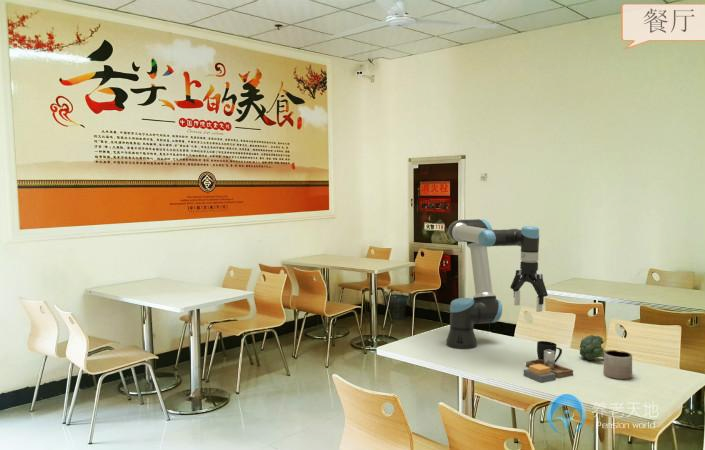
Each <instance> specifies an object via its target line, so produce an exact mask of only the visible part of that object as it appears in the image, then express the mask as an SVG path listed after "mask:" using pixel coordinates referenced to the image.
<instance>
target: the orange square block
mask: <svg viewBox="0 0 705 450" xmlns="http://www.w3.org/2000/svg"><path fill="white" fill-rule="evenodd" d="M528 369H529V371H530V372H533V373H535V374H538V375H543V374H548V373H550V367H547V366H544V365H541V364H536V365H530V366H529V367H528Z"/></svg>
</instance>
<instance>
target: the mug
mask: <svg viewBox="0 0 705 450" xmlns="http://www.w3.org/2000/svg"><path fill="white" fill-rule="evenodd" d="M557 346H558V345H557V343H555V342H552V341H547V340H539V341H537V344H536V352H537V353H536V354H537V359H542V360H544V350H547V349H550V350H553V351H555V355H556V354H557V350H558V354H557V356H556V357H555V363H554V364H557V362H558V360H559V359H560V358H561V356H562V353H563V349H562V348H561V347H557Z"/></svg>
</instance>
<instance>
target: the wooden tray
mask: <svg viewBox="0 0 705 450" xmlns="http://www.w3.org/2000/svg"><path fill="white" fill-rule="evenodd" d="M536 364H541V365H544V360H542V359H538V358H537V359H533V360H526V361H525V367H527V368H529V366H530V365H536ZM550 372H552V373H555V374H556V379H561V378H565V377H566V378H567V377H570V376H574V370H573V369H571V368H569V367H565V366H563V365H559V364H557V363H555V364H554V371H553V370H550Z"/></svg>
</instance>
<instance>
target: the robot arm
mask: <svg viewBox="0 0 705 450" xmlns="http://www.w3.org/2000/svg"><path fill="white" fill-rule="evenodd" d="M447 231H448V236H449V238H451V240H453V241H455V242H461V243H464V242H465V243H466V247H467V248H469V251H470V257H471V258H470V259H471V266H472V267H471V268H472V275H473V282H474V283H473V284H474V292H475V294H474V296H473V297H472V298H471V297H459V298H455V299H453V300H451V302H450V305H449V306H450V307H449V331H448V334H447V338H446V340H445V342H446V345H447V346H448V347H450V348H453V349H454V348H455V349H461V350H464V349H465V350H467V349H473V348H477V346H478V343H477V338H476V335H475V332H474V331H475V330H474V325H476V324H491V323H497V322H499V321H500V319H501V317H502V314H503V304H502V303H501V301H500V300H499V299H497V295H496V294H495V293H493V286H492V278H491V271H490V263H489V262H490V261H489V253H488V247H489V248H490V247H500V246H501V247H507V246H508V247H512V246H516V247H517V246H518V247H520V269H516V271H515V275H514V278H513V280H512V283H511V284H510V289H511V290H512V291H513V299H514V300H513V303H514V304H513V305H514V306H515V307H516V306H520V305H521V291H520V289H521V288H522V286H523V285H524V284H525V283H526V282H527V283H530V285H532V286H533V289H534V291H535V293H536V294H537V296H536V307H535V309H536V313H540V312H543V305H544V300H545V299H544V298H545V297H548V295H549V293H548V291H547V288H546V285H545V282H544V279H543V277H544V276H543V274H542V273H537V272H538V271H539V251H540V250H539V249H540V248H539V246H540V228H539V227H538V226H532V225H531V226H525V225H524V226H522V227H521V229H519V228H509V229H493V227H492V225H491V223H490V222H489V221H487V220H486V219H479V218H477V219H458V220H454V221H453V222H452V223H450V225H449V226H448V229H447Z"/></svg>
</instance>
